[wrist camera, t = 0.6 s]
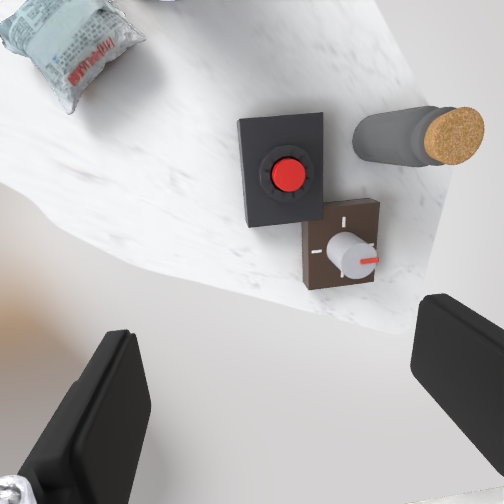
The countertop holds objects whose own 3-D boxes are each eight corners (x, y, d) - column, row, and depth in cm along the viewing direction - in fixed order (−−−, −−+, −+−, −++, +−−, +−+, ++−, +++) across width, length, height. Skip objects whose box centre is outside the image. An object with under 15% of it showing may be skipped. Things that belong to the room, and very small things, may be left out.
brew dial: (326, 265, 42) (341, 282, 37) (326, 233, 40) (342, 246, 35) (358, 261, 42) (377, 277, 37) (360, 229, 41) (380, 242, 36)
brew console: (301, 205, 42) (307, 210, 39) (369, 198, 42) (380, 202, 39) (302, 281, 46) (308, 290, 43) (364, 273, 47) (374, 282, 44)
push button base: (236, 120, 37) (240, 117, 32) (314, 114, 38) (329, 110, 33) (245, 221, 41) (249, 231, 37) (315, 214, 42) (327, 223, 38)
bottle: (350, 162, 40) (422, 173, 26) (353, 115, 38) (434, 100, 24) (390, 160, 41) (482, 169, 27) (396, 113, 39) (499, 98, 25)
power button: (270, 159, 34) (273, 160, 33) (300, 157, 35) (305, 157, 33) (272, 190, 36) (275, 193, 34) (301, 187, 36) (305, 190, 34)
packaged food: (150, 46, 33) (139, 30, 28) (76, 117, 34) (54, 113, 30) (88, -35, 30) (65, -68, 25) (10, 47, 32) (-26, 30, 27)
